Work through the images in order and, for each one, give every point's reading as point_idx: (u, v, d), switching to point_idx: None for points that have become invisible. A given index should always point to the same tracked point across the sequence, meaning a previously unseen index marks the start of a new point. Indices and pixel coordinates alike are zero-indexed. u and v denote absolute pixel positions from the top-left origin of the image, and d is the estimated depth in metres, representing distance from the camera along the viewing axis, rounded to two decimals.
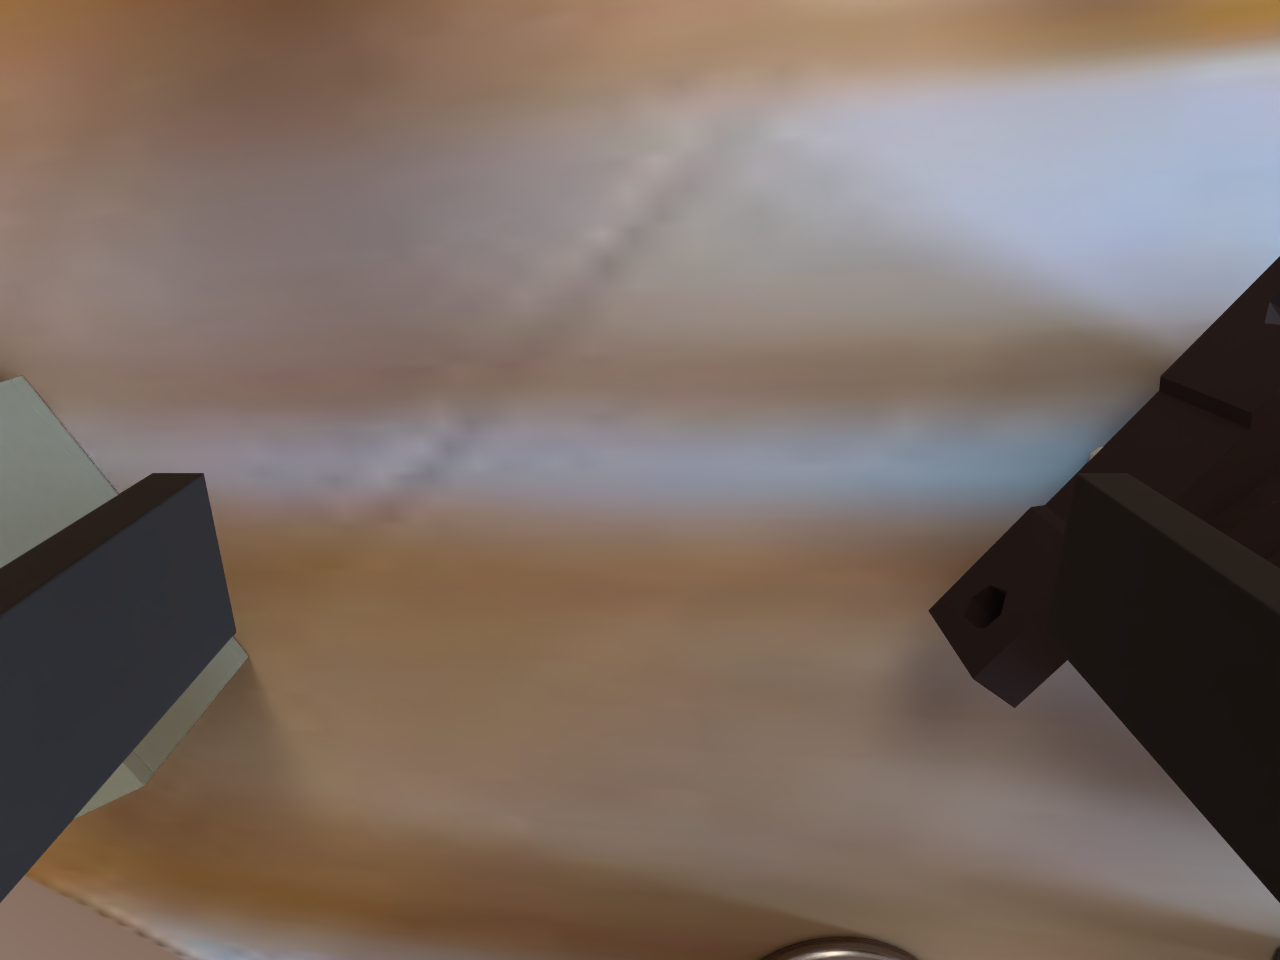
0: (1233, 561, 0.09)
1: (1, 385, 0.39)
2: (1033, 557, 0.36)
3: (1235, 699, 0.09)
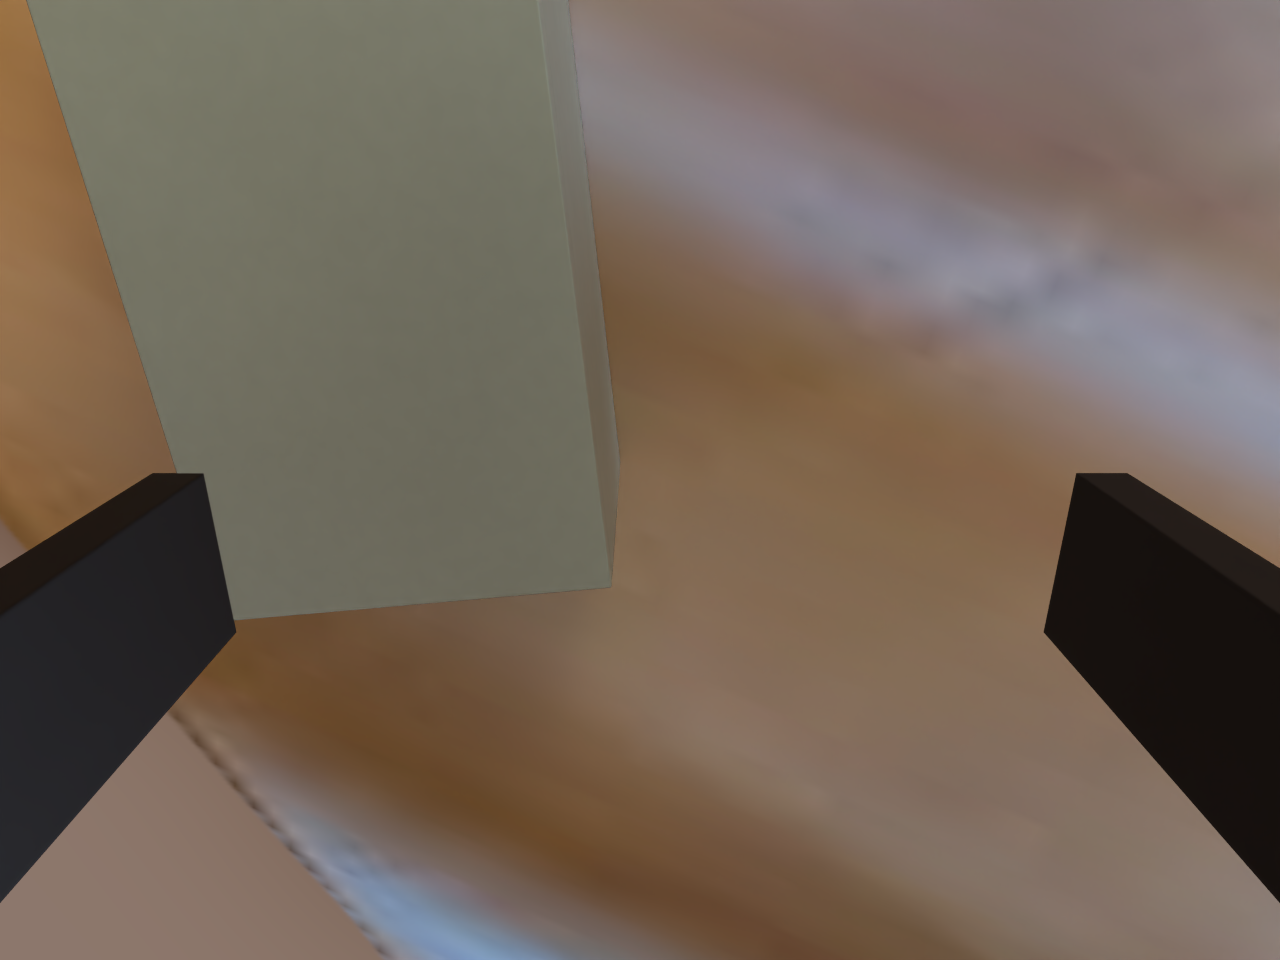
0: (1233, 561, 0.09)
1: None
2: None
3: (1235, 699, 0.09)
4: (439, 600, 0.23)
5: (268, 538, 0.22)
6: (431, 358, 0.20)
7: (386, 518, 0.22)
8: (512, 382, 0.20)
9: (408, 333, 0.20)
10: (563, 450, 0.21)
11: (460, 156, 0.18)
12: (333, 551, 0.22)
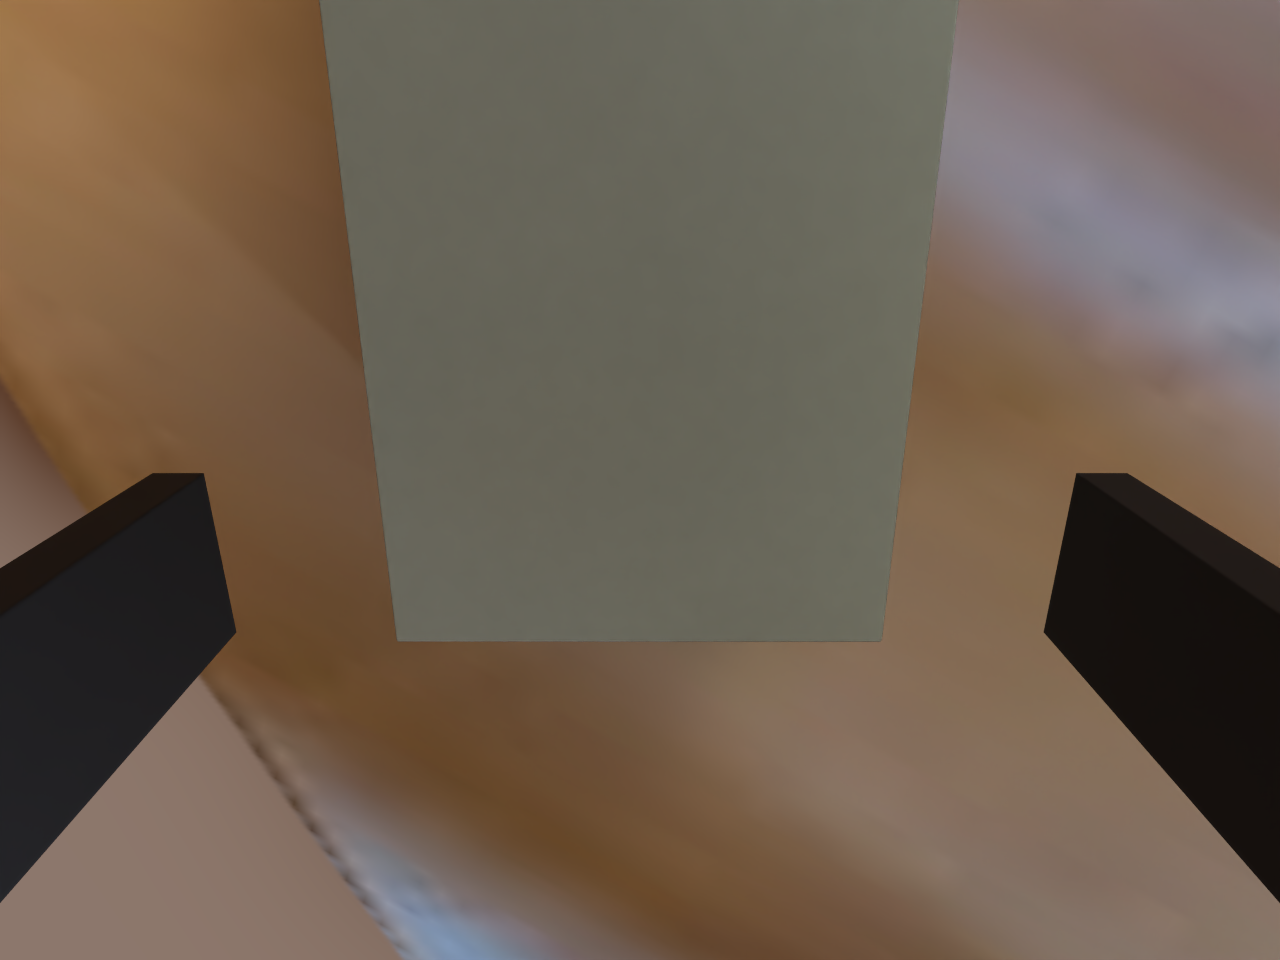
0: (1233, 561, 0.09)
1: None
2: None
3: (1236, 699, 0.09)
4: (669, 638, 0.18)
5: (473, 546, 0.17)
6: (727, 341, 0.16)
7: (626, 534, 0.17)
8: (821, 381, 0.16)
9: (705, 307, 0.16)
10: (864, 471, 0.17)
11: (824, 86, 0.14)
12: (551, 568, 0.18)
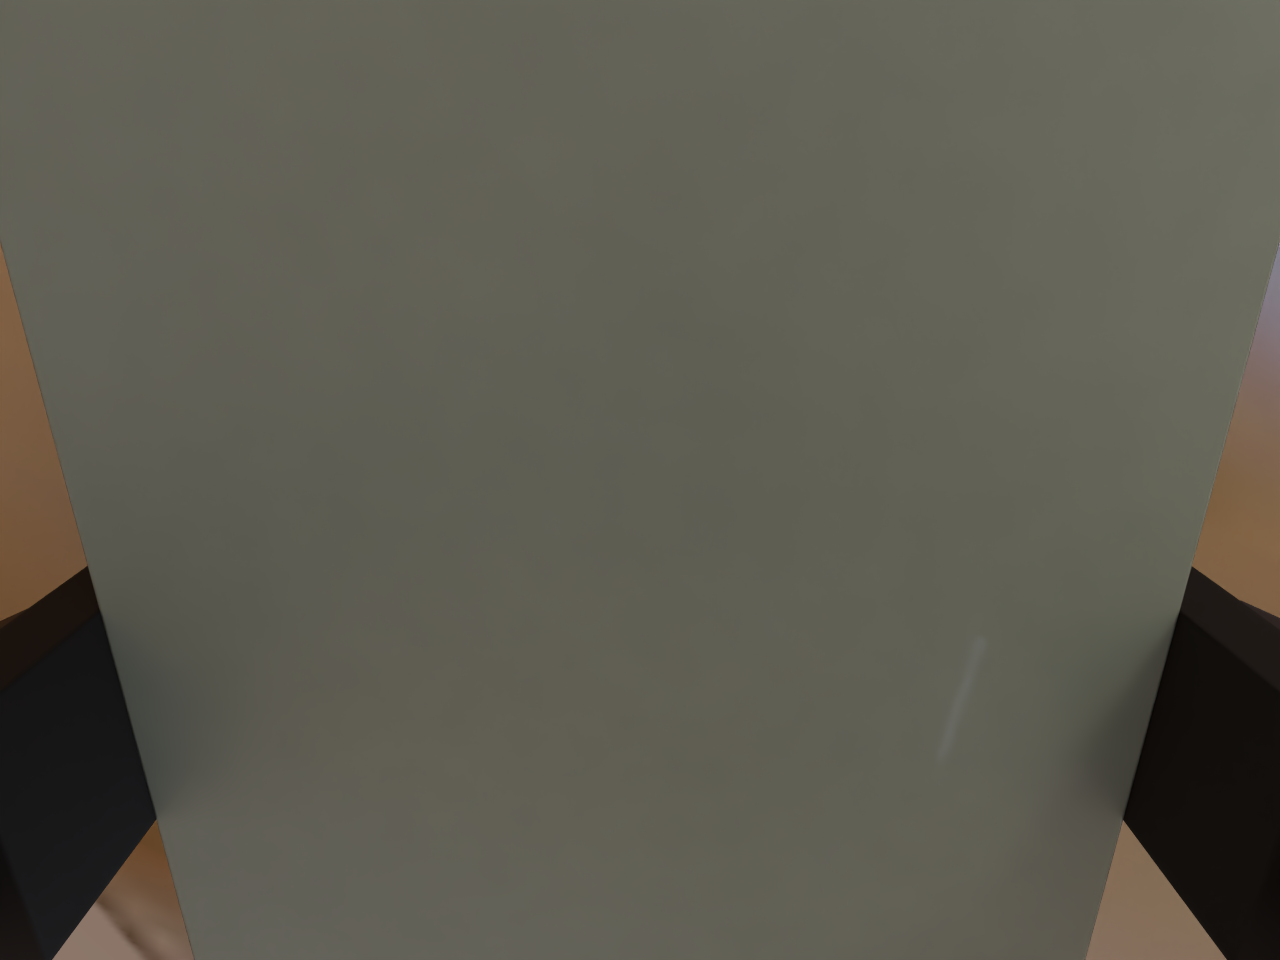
0: None
1: None
2: None
3: None
4: None
5: (330, 854, 0.09)
6: (820, 500, 0.08)
7: (615, 836, 0.09)
8: (1006, 575, 0.08)
9: (777, 434, 0.08)
10: (1073, 733, 0.09)
11: None
12: (477, 890, 0.10)
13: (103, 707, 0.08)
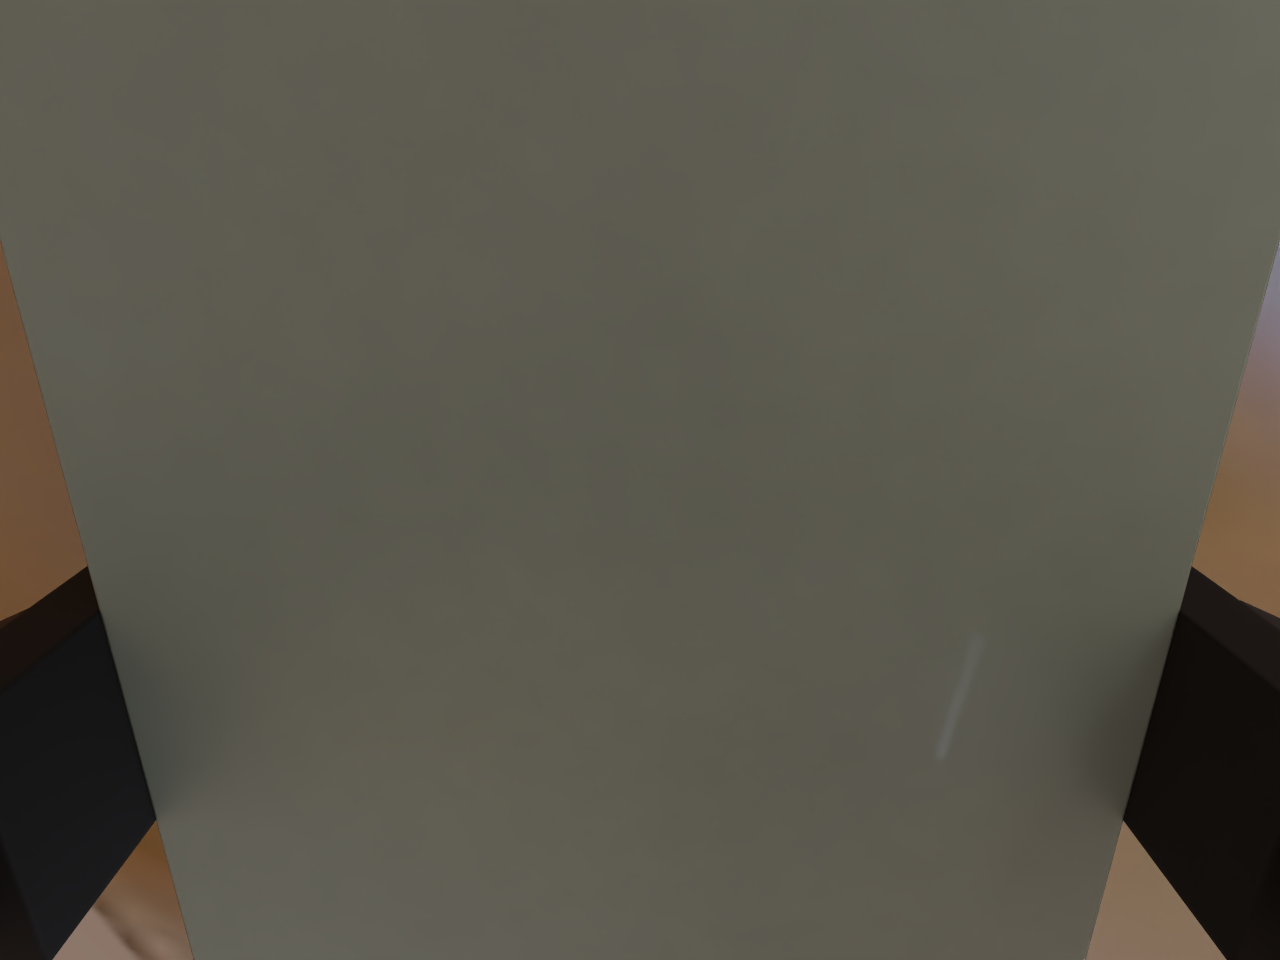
0: None
1: None
2: None
3: None
4: None
5: (329, 855, 0.09)
6: (820, 500, 0.08)
7: (615, 836, 0.09)
8: (1007, 575, 0.08)
9: (778, 433, 0.08)
10: (1075, 733, 0.09)
11: None
12: (477, 891, 0.10)
13: (103, 707, 0.08)
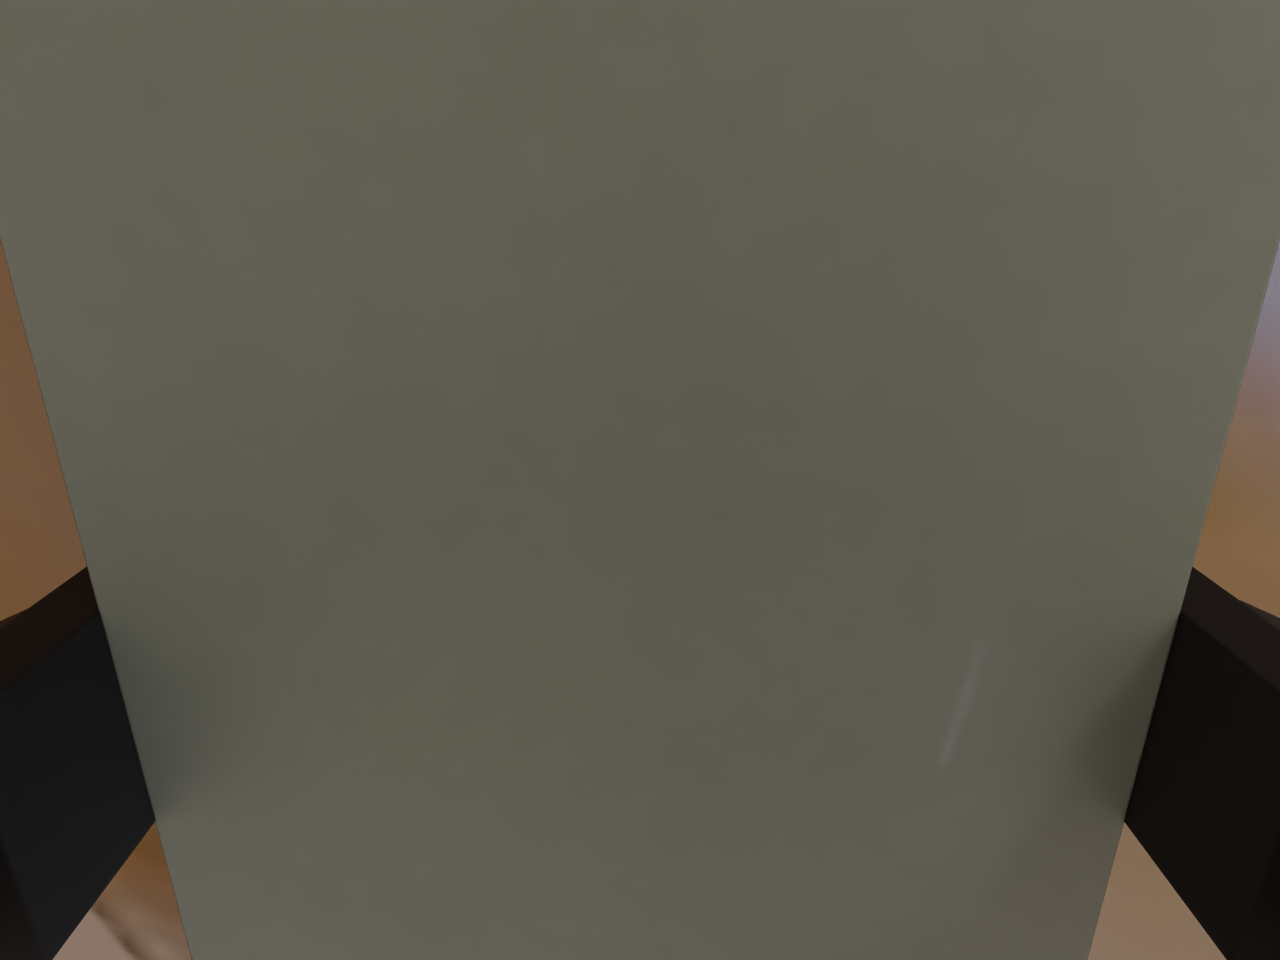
0: None
1: None
2: None
3: None
4: None
5: (327, 855, 0.09)
6: (820, 499, 0.08)
7: (614, 837, 0.09)
8: (1007, 574, 0.08)
9: (777, 432, 0.08)
10: (1074, 733, 0.09)
11: None
12: (476, 891, 0.10)
13: (103, 707, 0.08)
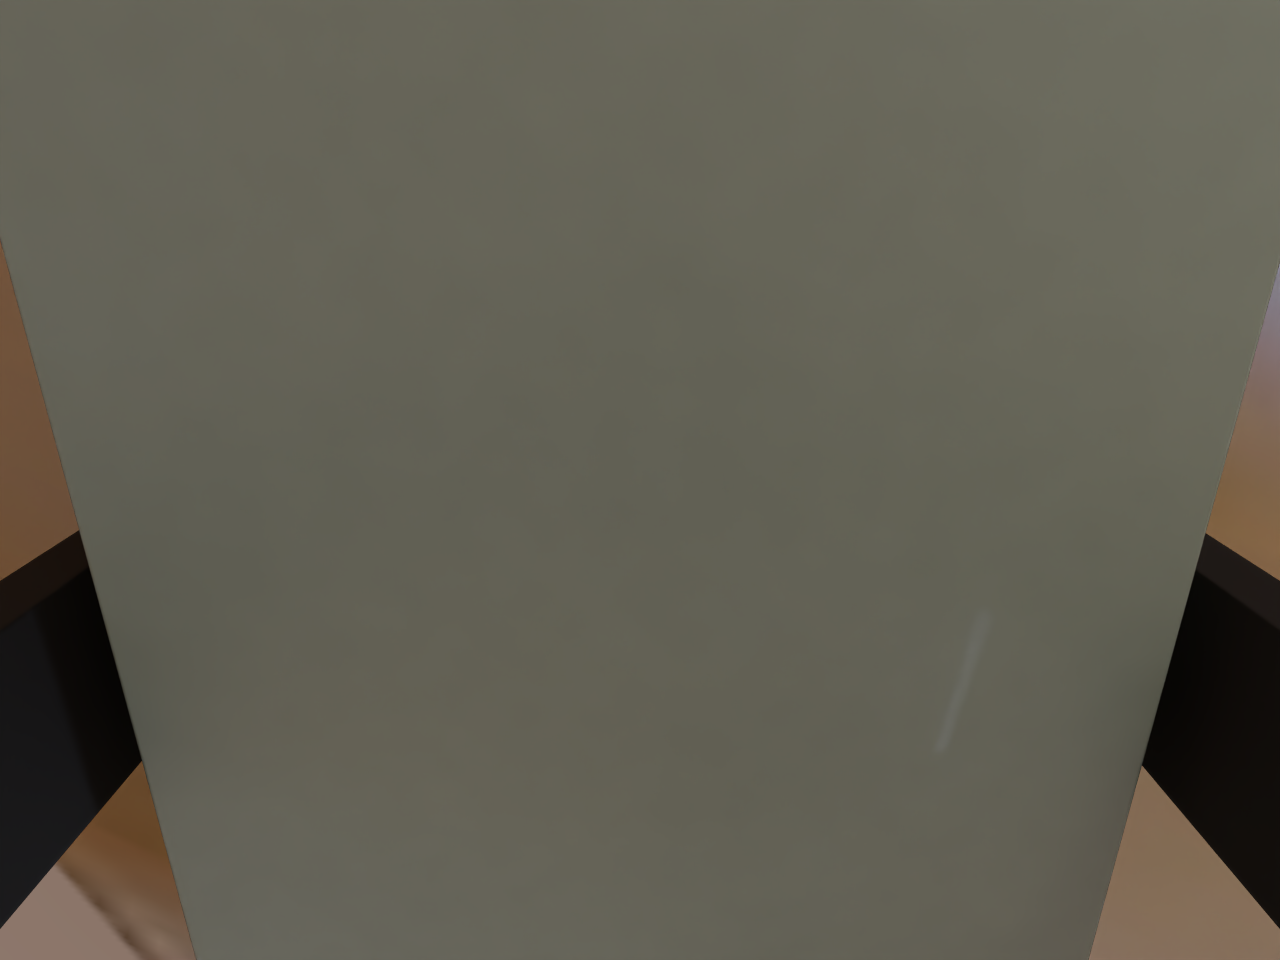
0: (1203, 554, 0.09)
1: None
2: None
3: (1204, 688, 0.09)
4: None
5: (328, 831, 0.09)
6: (827, 464, 0.08)
7: (618, 811, 0.09)
8: (1017, 541, 0.08)
9: (785, 395, 0.07)
10: (1085, 704, 0.09)
11: None
12: (478, 867, 0.09)
13: None
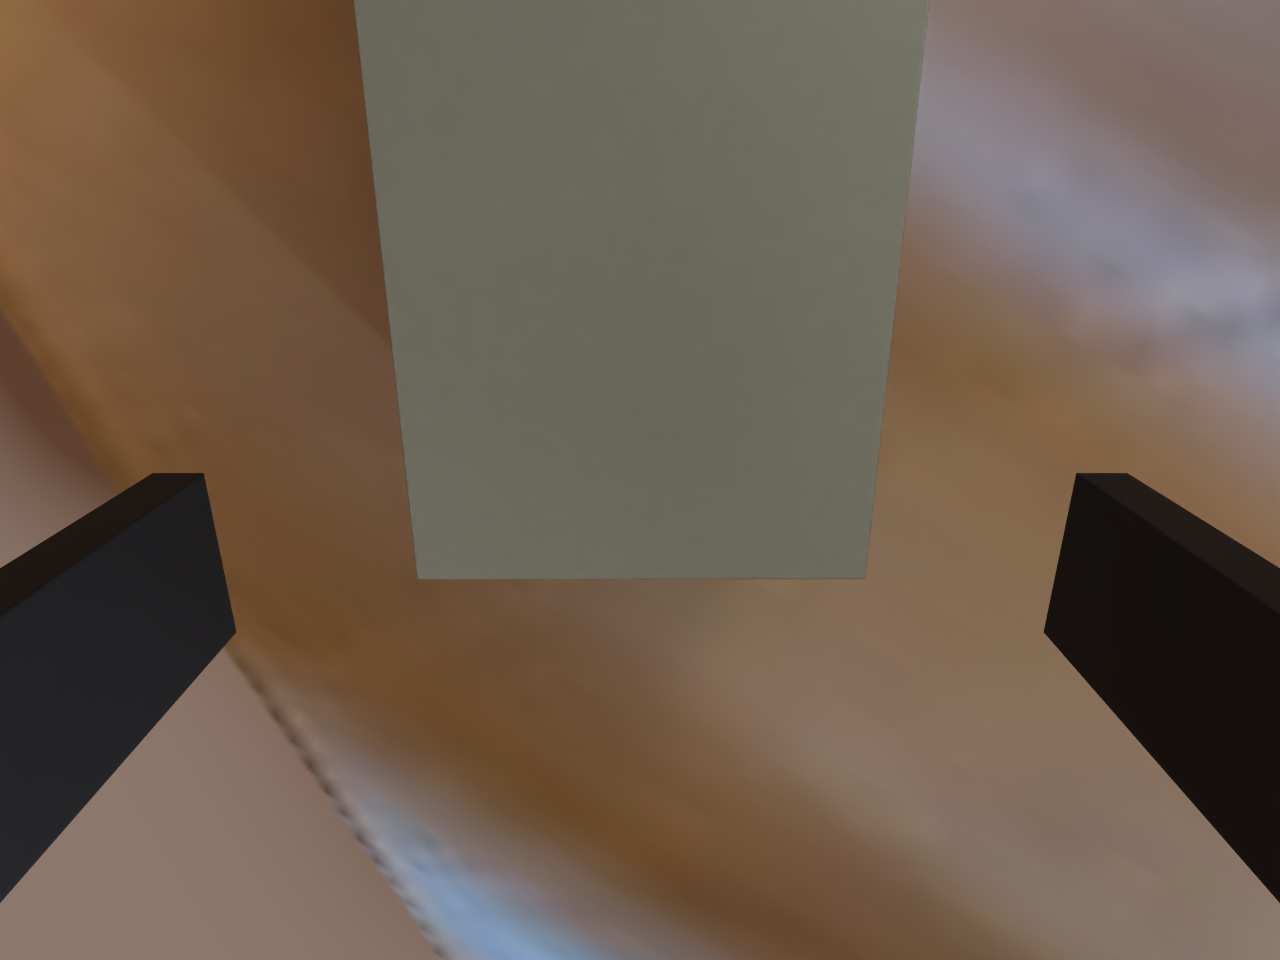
0: (1233, 561, 0.09)
1: None
2: None
3: (1234, 699, 0.09)
4: (669, 576, 0.20)
5: (488, 488, 0.19)
6: (722, 297, 0.17)
7: (629, 477, 0.19)
8: (808, 334, 0.18)
9: (702, 265, 0.17)
10: (848, 418, 0.18)
11: (809, 60, 0.16)
12: (560, 510, 0.19)
13: None
